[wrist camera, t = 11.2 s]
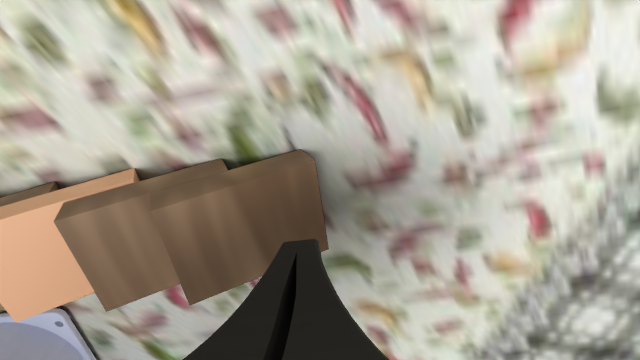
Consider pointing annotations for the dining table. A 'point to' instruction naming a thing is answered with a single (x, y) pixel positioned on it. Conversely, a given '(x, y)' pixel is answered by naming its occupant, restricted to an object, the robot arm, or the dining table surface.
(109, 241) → the domino
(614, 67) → the dining table surface
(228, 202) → the domino
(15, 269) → the domino
